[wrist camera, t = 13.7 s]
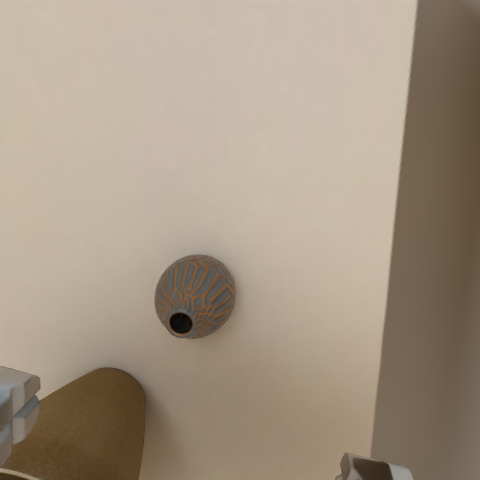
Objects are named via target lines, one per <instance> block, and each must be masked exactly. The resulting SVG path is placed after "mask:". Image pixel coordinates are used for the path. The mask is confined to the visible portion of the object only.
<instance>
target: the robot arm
mask: <svg viewBox="0 0 480 480" xmlns="http://www.w3.org/2000/svg"><path fill="white" fill-rule="evenodd" d="M39 389H40V378H39V377H38V376H36V375H32V374H29V373H25V372H22V371H18V370H15V369H11V368H7V367H4V366H0V467H1V466H2V465H3V463H4V462H5V461H6V460H7V459H8V458H9V457H10V455H11V452H12V445H14V444H16V443H18V442H20V441H23V440H24V439H25V438H26V437H27V436H28V434H29V433H30V432H31V431H32V429H33V427H34V425H35V423H36V421H37V419H38V416H39V412H40V401H39V399H38V398H37V396H36V395H35V394H36V393H37V392H38V391H39ZM340 467H341V474H340V475H339V476H337V477H336V478H335V480H413V477H412V474H411V471H410V470H409V469H408V468H407V467H406V466H401V465H397V464H393V463H388V462H383V461H379V460H375V459H371V458H367V457H363V456H359V455H354V454H350V453H345V454H344V455H343V457H342V460H341V463H340Z"/></svg>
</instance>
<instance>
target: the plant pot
mask: <svg viewBox="0 0 480 480" xmlns="http://www.w3.org/2000/svg"><path fill="white" fill-rule="evenodd" d="M144 432H145V395H144V392H143V390H142V388H141V386H140V385H139V383H138V382H137V381H136V380H135V379H134V378H133V377H132V376H130V375H129V374H127V373H125V372H123V371H121V370H118V369H114V368H101V369H97V370H94V371H92V372H90V373H88V374H86V375H84V376H82V377H80V378H78V379H76V380H74V381H72V382H70V383H69V384H67V385H65V386H63V387H62V388H60V389H58V390H57V391H55V392H53V393H51V394H50V395H48V396H47V397H45V398H44V399H42V400H40V412H39V416H38V419H37V421H36V423H35V425H34V427H33V429H32V431H31V432H30V433H29V434H28V436H27V437H26V438H25V439H24V440H23V441H20V442H18V443H16V444H14V445H12V452H11V455H10V457H9V458H8V459H7V460H6V461H5V462H4V463H3V465H2V466H1V467H0V480H139V474H140V468H141V461H142V453H143V444H144Z"/></svg>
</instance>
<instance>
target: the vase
mask: <svg viewBox="0 0 480 480" xmlns="http://www.w3.org/2000/svg"><path fill="white" fill-rule="evenodd" d="M234 301H235V286H234V281H233V279H232V276H231V274H230V273H229V271H228V269H227V268H226V267H225V266H224V265H223V264H222V263H221V262H219V261H218V260H216V259H214V258H212V257H209V256H206V255H190V256H186V257H183V258H181V259H179V260H177V261H175V262H174V263H173V264H172V265H170V266H169V267H168V268H167V269H166V270H165V272H164V273H163V274H162V276H161V278H160V279H159V282H158V284H157V287H156V292H155V308H156V312H157V315H158V317H159V319H160V321H161V322H162V324H163V325H164V326H165V327H166V328H167V330H168V331H169V332H170V333H171V334H172V335H174V336H176V337H179V338H189V339H195V338H202V337H205V336H208V335H210V334H212V333H213V332H215V331H216V330H218V329H219V328H220V327H221V326H222V325H223V324H224V323H225V322H226V320H227V319H228V317H229V316H230V314H231V312H232V309H233V306H234Z"/></svg>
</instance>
